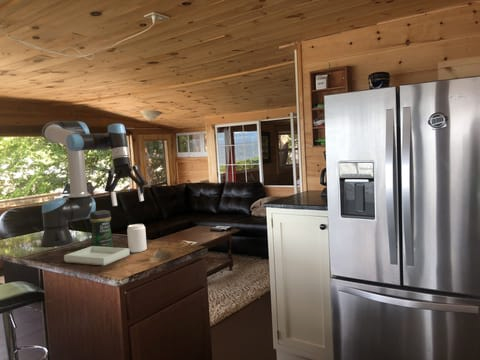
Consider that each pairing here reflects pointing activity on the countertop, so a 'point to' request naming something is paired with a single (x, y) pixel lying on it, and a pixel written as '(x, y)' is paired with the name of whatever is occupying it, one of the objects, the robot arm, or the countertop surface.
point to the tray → (97, 255)
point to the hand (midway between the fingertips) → (128, 203)
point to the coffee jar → (101, 228)
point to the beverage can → (136, 238)
